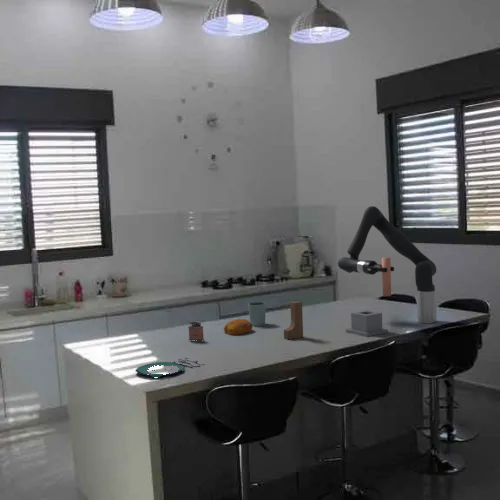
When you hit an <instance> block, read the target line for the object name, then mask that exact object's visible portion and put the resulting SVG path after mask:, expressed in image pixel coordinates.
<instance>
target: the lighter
mask: <svg viewBox="0 0 500 500" xmlns="http://www.w3.org/2000/svg"><path fill="white" fill-rule="evenodd" d="M187 329H188V341H189V340H195V341H194V342H203V341H202V340H204V341H205V339H204V325H202V322H201V321H198V320H195V321H194V320H193V321H189V325H188V328H187ZM196 340H197V341H196Z"/></svg>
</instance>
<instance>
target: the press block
mask: <svg viewBox="0 0 500 500" xmlns="http://www.w3.org/2000/svg"><path fill="white" fill-rule="evenodd" d="M350 317H351V318H350V322H351V327H350V328H346V329H345V331H346V333H349V334H353V335H357V336H360V337H361V336H362V337H365V338H369V337H372V336H376V335H382V334H386V333H388V332H389V329H388V328H385V327H384V328H383V312H380V311H376V310H375V311H374V310H368V309H365V310H360V311H354V312H351V313H350Z"/></svg>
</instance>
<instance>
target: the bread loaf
mask: <svg viewBox="0 0 500 500" xmlns="http://www.w3.org/2000/svg"><path fill="white" fill-rule="evenodd" d="M252 329H253V326H252V324H251V323H250V320H249V319H244V318H237V319H234V320H232V321H229V322H228V321H227V323H225V326H224V328H223V330H224V333H225V334H227V333H228V335H233V336H238V334H239V335H242V334H245V333H249V332H251V331H252Z"/></svg>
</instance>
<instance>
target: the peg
mask: <svg viewBox="0 0 500 500" xmlns="http://www.w3.org/2000/svg"><path fill="white" fill-rule="evenodd" d="M391 264H392V263H391V257H389V256H388V257H387V256H386V257H381V265H382V267H383V268H387V272H381V276H382V277H381V279H382V280H381V283H382V285H381V288H382V297H392V275H391V273H392V271H391V267H392V266H391Z"/></svg>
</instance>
